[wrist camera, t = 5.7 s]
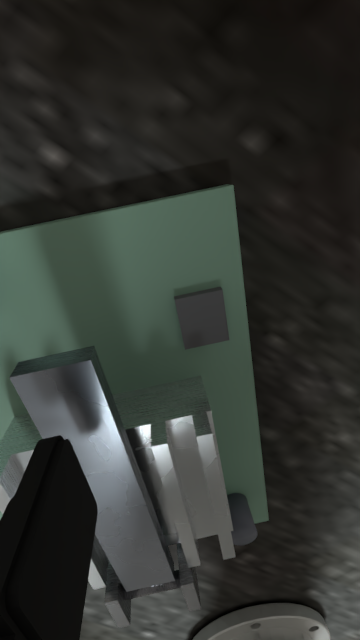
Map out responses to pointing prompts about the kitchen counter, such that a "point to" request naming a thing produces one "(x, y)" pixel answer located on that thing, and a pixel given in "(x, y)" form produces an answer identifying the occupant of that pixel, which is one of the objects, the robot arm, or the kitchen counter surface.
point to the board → (144, 315)
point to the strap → (99, 459)
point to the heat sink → (152, 481)
